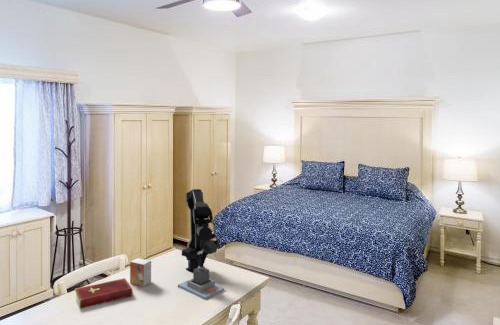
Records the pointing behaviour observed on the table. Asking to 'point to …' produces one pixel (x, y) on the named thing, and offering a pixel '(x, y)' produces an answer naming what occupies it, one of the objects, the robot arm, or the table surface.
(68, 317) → the table surface
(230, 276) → the table surface
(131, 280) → the small box
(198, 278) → the plug
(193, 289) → the socket block
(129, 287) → the hardcover book
